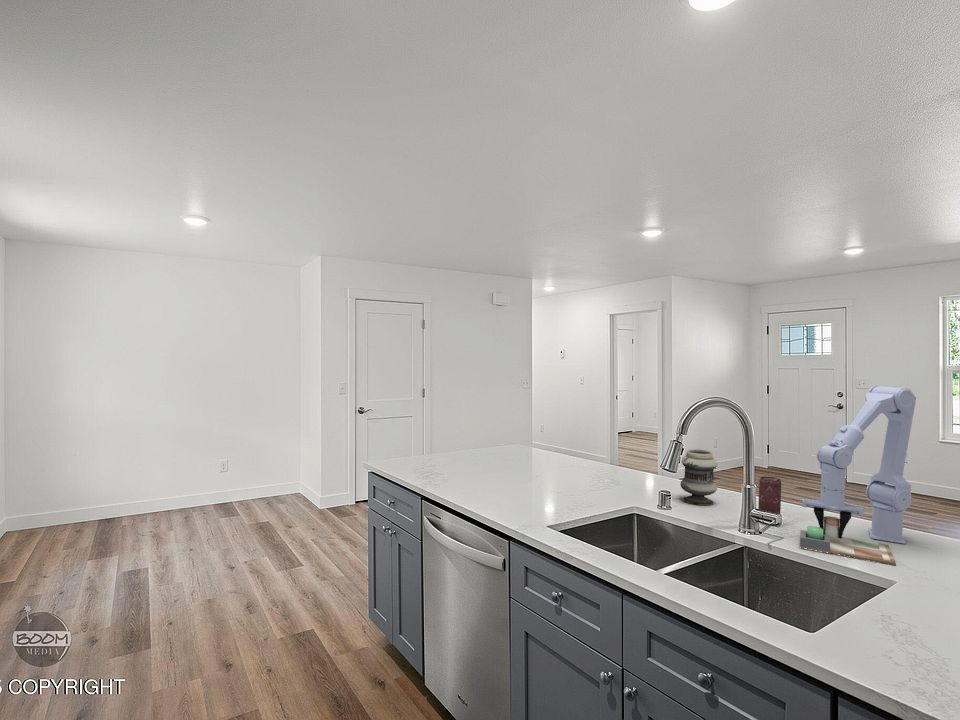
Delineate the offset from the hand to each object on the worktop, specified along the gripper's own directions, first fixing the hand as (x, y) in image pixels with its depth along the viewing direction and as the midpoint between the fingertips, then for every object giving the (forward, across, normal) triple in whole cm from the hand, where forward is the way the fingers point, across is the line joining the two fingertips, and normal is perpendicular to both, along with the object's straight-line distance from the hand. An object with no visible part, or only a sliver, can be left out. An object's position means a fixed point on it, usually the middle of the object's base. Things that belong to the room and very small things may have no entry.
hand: (831, 536), depth 154 cm
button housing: (+2, -4, -8) cm, 9 cm away
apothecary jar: (+2, -39, +22) cm, 45 cm away
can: (+2, -16, +10) cm, 19 cm away
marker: (+1, 0, 0) cm, 1 cm away
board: (+2, +3, -4) cm, 5 cm away
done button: (-1, -4, -8) cm, 9 cm away
